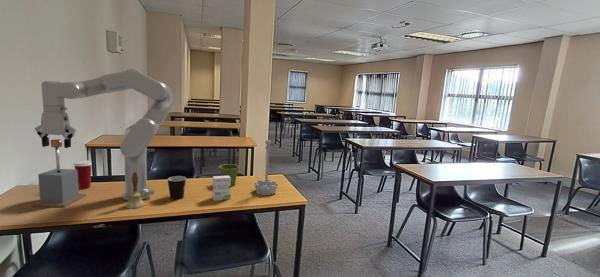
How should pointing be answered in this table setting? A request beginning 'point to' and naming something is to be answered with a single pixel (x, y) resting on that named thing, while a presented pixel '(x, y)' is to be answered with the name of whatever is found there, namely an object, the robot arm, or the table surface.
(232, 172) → the plant pot
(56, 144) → the plunger
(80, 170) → the paper cup
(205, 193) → the table surface
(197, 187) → the table surface
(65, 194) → the block
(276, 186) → the flag stand
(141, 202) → the hand bell
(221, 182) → the ink box
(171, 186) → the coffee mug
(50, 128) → the robot arm
